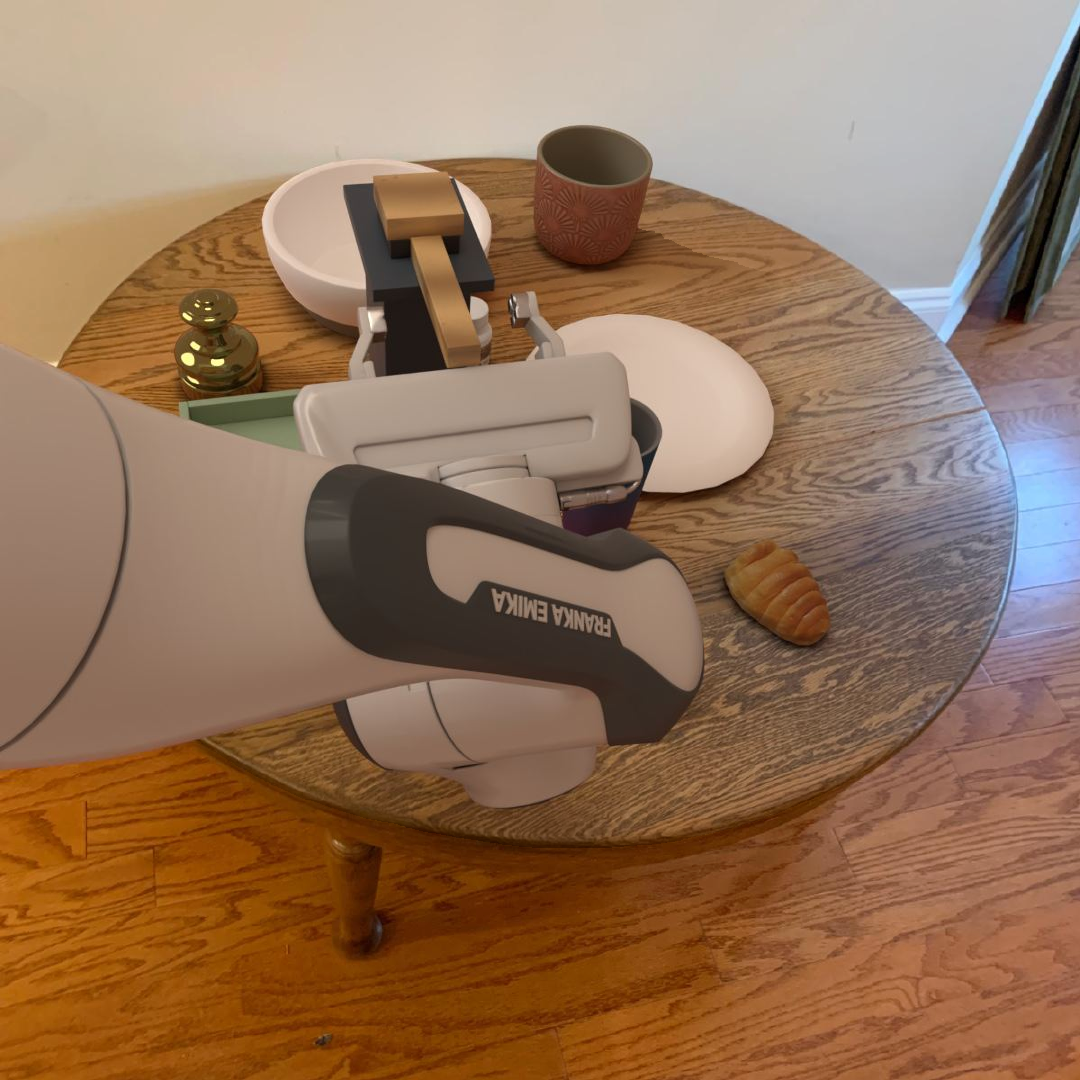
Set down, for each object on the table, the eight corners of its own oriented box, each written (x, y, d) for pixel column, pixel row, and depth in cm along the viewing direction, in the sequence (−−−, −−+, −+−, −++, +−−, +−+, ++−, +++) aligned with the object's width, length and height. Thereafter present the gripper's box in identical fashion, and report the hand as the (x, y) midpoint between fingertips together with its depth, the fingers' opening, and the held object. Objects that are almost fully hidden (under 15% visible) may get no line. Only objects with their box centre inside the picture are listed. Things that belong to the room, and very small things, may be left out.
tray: (202, 623, 75) (195, 599, 73) (184, 427, 88) (178, 401, 85) (378, 593, 78) (377, 570, 76) (337, 409, 91) (335, 384, 89)
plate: (743, 538, 86) (748, 525, 85) (479, 452, 89) (480, 439, 88) (789, 366, 102) (794, 354, 100) (563, 299, 105) (565, 286, 103)
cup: (640, 571, 83) (678, 448, 71) (567, 591, 81) (593, 467, 69) (607, 512, 86) (638, 386, 75) (536, 530, 84) (557, 403, 73)
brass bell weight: (242, 347, 95) (227, 261, 87) (277, 393, 91) (265, 307, 84) (169, 373, 92) (146, 285, 84) (203, 421, 88) (183, 334, 80)
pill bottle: (462, 391, 94) (465, 328, 88) (435, 366, 96) (437, 302, 90) (498, 375, 96) (503, 312, 90) (471, 350, 98) (475, 287, 92)
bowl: (348, 203, 112) (344, 134, 105) (523, 271, 107) (530, 203, 101) (225, 307, 98) (212, 236, 92) (419, 389, 94) (419, 320, 87)
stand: (382, 545, 82) (372, 289, 61) (358, 443, 88) (342, 184, 68) (475, 531, 84) (495, 279, 63) (444, 432, 90) (454, 177, 70)
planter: (580, 290, 106) (594, 200, 98) (505, 234, 111) (513, 144, 103) (656, 251, 112) (676, 164, 104) (582, 200, 117) (596, 113, 109)
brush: (504, 362, 58) (508, 322, 56) (422, 371, 57) (422, 331, 55) (446, 210, 68) (447, 170, 65) (374, 215, 66) (372, 175, 64)
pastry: (844, 627, 81) (860, 601, 78) (786, 664, 78) (801, 638, 75) (768, 550, 86) (780, 523, 83) (710, 582, 83) (721, 555, 80)
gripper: (666, 487, 58) (621, 266, 59) (316, 540, 52) (276, 296, 54) (632, 507, 64) (592, 306, 65) (315, 556, 58) (279, 337, 60)
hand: (446, 302), depth 60 cm, fingers open, 8 cm apart
